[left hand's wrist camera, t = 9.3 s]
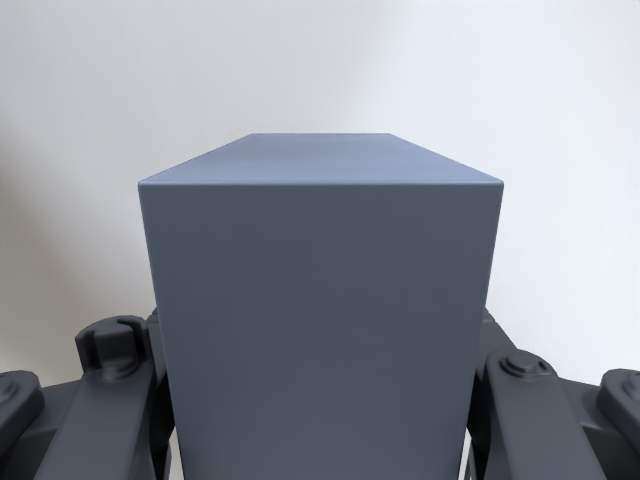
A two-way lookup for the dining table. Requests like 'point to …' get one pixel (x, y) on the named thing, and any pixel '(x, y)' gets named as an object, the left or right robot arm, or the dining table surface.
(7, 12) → the dining table surface
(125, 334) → the left robot arm
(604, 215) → the dining table surface
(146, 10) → the dining table surface
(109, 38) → the dining table surface
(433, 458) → the beam
